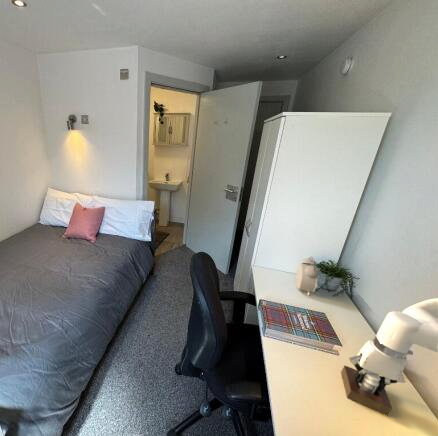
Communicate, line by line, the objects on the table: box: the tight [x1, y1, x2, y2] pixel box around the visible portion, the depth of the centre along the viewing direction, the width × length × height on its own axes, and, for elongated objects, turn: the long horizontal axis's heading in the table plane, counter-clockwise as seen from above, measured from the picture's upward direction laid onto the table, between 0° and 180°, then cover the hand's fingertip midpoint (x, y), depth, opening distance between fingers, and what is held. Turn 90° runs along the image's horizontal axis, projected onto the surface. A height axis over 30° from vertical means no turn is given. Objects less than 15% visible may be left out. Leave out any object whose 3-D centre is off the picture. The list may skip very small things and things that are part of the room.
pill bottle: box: [357, 371, 381, 395], centre depth 82 cm, size 5×5×8 cm
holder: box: [340, 364, 393, 417], centre depth 83 cm, size 11×11×4 cm
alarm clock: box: [295, 255, 321, 296], centre depth 134 cm, size 16×9×22 cm, turn 155°
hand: (368, 383), depth 82 cm, fingers closed on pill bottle, 4 cm apart
